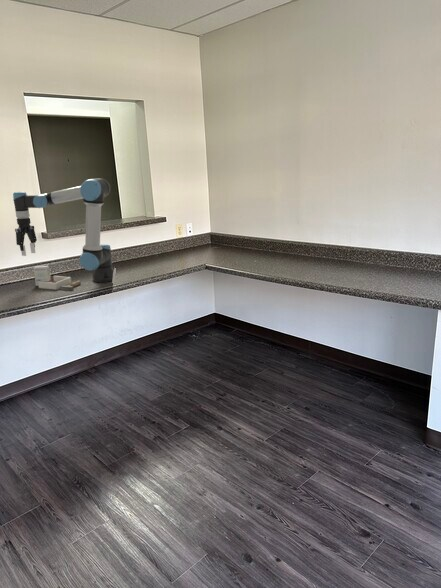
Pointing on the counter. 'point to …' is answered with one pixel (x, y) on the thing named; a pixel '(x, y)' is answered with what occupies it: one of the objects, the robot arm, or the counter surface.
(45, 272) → the ink box
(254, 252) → the counter surface
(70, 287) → the scraper
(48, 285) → the frame
